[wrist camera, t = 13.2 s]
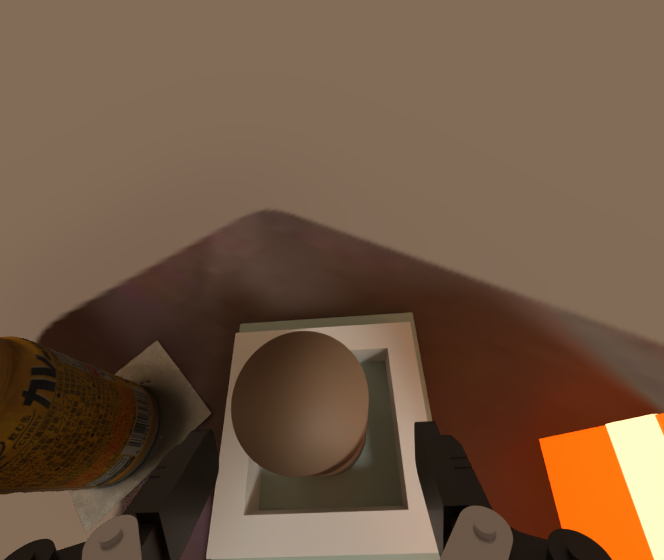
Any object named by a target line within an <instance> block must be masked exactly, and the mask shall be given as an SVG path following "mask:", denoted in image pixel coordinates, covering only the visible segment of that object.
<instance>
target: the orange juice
mask: <svg viewBox="0 0 664 560" xmlns="http://www.w3.org/2000/svg"><path fill="white" fill-rule="evenodd" d="M539 441H540V445H541V449H542V453H543V457H544V461H545V465H546V469H547V472H548V476H549V480H550V484H551V488H552V492H553V496H554V500H555V504H556V507H557V511H558V515H559V519H560V523H561V527H562V529H570V530H574V531H577V532H580V533H582V534H584V535H586V536H588V537H589V538H591V539H592V540H594V541H595V542H596V543H598V544H599V545H600V546H601V547H602V548H603V549H604V550H605V551H606V552H607V553H608V555H609V556H610V557H611V559H612V560H664V413H662V414H650V415H645V416H641V417H636V418H631V419H627V420H622V421H617V422H612V423H608V424H605V425H604V426H600V427H595V428H590V429H585V430H580V431H576V432H571V433H566V434H561V435H556V436H551V437H547V438H542V439H539Z"/></svg>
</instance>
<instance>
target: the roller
mask: <svg viewBox="0 0 664 560" xmlns="http://www.w3.org/2000/svg"><path fill="white" fill-rule="evenodd" d="M368 405H369V392H368V386H367V381H366V377H365V374H364V371H363V369H362V367H361V365H360V363H359V362H358V360H357V358H356V357H355V356H354V354H353V353H352V352H351V351H350V350H349V349H348V348H347V347H346V346H345V345H344V344H342V343H341V342H340V341H338V340H336V339H335V338H333V337H331V336H328V335H326V334H323V333H319V332H313V331H296V332H290V333H286V334H283V335H280V336H278V337H276V338H274V339H272V340H270V341H268V342H267V343H265V344H264V345H262V346H261V347H260V348H259V349H258V350H256V351H255V352H254V353H253V355H252V356H251V357H250V358H249V359H248V360H247V362H246V363H245V364H244V366H243V368H242V370H241V371H240V373H239V375H238V378H237V380H236V383H235V386H234V389H233V394H232V399H231V418H232V424H233V428H234V431H235V434H236V437H237V439H238V441H239V443H240V445H241V447H242V448H243V450H244V451H245V453H246V454H247V455H248V456H249V457H250V458H251V459H252V460H253V461H254V462H255V463H257V464H258V465H259V466H261V467H262V468H264V469H266V470H268V471H270V472H273V473H275V474H278V475H283V476H291V477H308V476H333V475H337V474H340V473H342V472H344V471H346V470H348V469H349V468H350V467H351V466H353V465H354V463H355V462H356V461H357V460H358V458H359V457H360V455H361V453H362V451H363V449H364V446H365V441H366V433H367V419H368Z"/></svg>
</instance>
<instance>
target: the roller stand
mask: <svg viewBox="0 0 664 560" xmlns="http://www.w3.org/2000/svg"><path fill="white" fill-rule="evenodd" d="M296 331H313V332H319V333H323V334H326V335H328V336H331V337H333V338H335V339H336V340H338V341H340V342H341V343H342V344H344V345H345V346H346V347H347V348H348V349H349V350H350V351H351V352H352V353H353V354H354V356H355V357H356V358H357V360H358V362H359V363H360V365H361V367H362V369H363V371H364V374H365V377H366V381H367V386H368V392H369V405H368V419H367V433H366V441H365V446H364V449H363V451H362V453H361V455H360V457H359V458H358V460H357V461H356V462H355V463H354V465H353V466H351V467H350V468H349V469H348V470H346V471H344V472H342V473H340V474H337V475H333V476H308V477H291V476H283V475H278V474H275V473H273V472H270V471H268V470H266V469H264V468H262V467H261V466H259V465H258V464H257V463H255V462H254V461H253V460H252V459H251V458H250V457H249V456H248V455H247V454H246V453H245V451H244V450H243V448H242V447H241V445H240V443H239V441H238V439H237V437H236V434H235V431H234V428H233V424H232V418H231V399H232V394H233V389H234V386H235V383H236V380H237V378H238V375H239V373H240V371H241V370H242V368H243V366H244V364H245V363H246V362H247V360H248V359H249V358H250V357H251V356H252V355H253V353H254V352H255V351H256V350H258V349H259V348H260V347H261V346H262V345H264V344H265V343H267V342H268V341H270V340H272V339H274V338H276V337H278V336H280V335H283V334H286V333H290V332H296ZM423 421H432V417H431V411H430V406H429V400H428V395H427V389H426V384H425V378H424V373H423V367H422V362H421V357H420V351H419V346H418V340H417V335H416V329H415V324H414V318H413V313H412V312H411V313H396V314H380V315H365V316H350V317H335V318H320V319H305V320H290V321H275V322H260V323H245V324H240V330H239V333H236V334H235V342H234V349H233V357H232V364H231V372H230V380H229V387H228V395H227V402H226V410H225V418H224V425H223V433H222V440H221V448H220V456H219V472H218V476H217V479H216V486H215V494H214V501H213V509H212V516H211V524H210V532H209V539H208V547H207V555H206V559H211V560H440V556H439V552H438V548H437V545H436V541H435V537H434V533H433V530H432V526H431V522H430V519H429V515H428V511H427V508H426V504H425V500H424V496H423V493H422V489H421V485H420V482H419V478H418V474H417V469H416V463H415V441H414V423H415V422H423Z"/></svg>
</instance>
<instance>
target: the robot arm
mask: <svg viewBox="0 0 664 560" xmlns="http://www.w3.org/2000/svg"><path fill="white" fill-rule="evenodd" d="M414 441H415V463H416V469H417V474H418V478H419V482H420V485H421V489H422V493H423V496H424V500H425V504H426V508H427V511H428V515H429V519H430V522H431V526H432V530H433V533H434V537H435V541H436V545H437V548H438V552H439V556H440V560H612V559H611V557H610V556H609V555H608V553H607V552H606V551H605V550H604V549H603V548H602V547H601V546H600V545H599V544H598V543H596V542H595V541H594V540H592V539H591V538H589V537H588V536H586V535H584V534H582V533H580V532H577V531H574V530H570V529H557V530H555V531H553V532H552V533H551V534H550V535H549V537H548V540H546V539H542V538H538V537H535V536H531V535H528V534H524V533H522V532H519V531H517V530H515V529H513V528H511V527H510V526H509V525H508V524H507V522H506V521H505V520H504V519H503V518H502V517H501V516H500V515H499V514H498V513H496V512H495V511H493V509H492V507H491V506H490V503H489V501H488V499H487V497H486V495H485V493H484V491H483V489H482V487H481V485H480V483H479V481H478V479H477V477H476V474H475V472H474V470H473V469H472V466H471V464H470V462H469V460H468V459H467V456H466V454H465V452H464V450H463V448H462V445H461V444H460V443H459V442H458V441H456V440H455V439H454V438H453V437H452V436H451V435H440V433H439V430H438V428H437V426H436V423H435V422H434V421H423V422H415V423H414ZM218 472H219V459H218V454H217V448H216V443H215V438H214V433H213V431H212V430H192V431H191V432H190V433H189V434H188V436H187V437H186V439H185V440H184V442H183V443H182V445H176V446H175V447H174V448H173V449H171V450H170V451H169V452H168V453H167V454H165V455H164V457H163V458H162V460H161V461H160V462H159V464H158V465H157V467H156V469H154V471H153V472H152V474H151V475H150V476H149V479H147V481H146V482H145V483H144V485H143V486H142V488H141V489H140V490H139V492H138V493H137V495H136V496H135V497H134V499H133V500H132V502H131V503H130V504H129V506H128V507H127V509H126V510H125V511H124V513H123V514H122V515H121V516H118V517H115V518H113V519H110V520H109V521H107V522H105V523H104V524H102V525H101V526H100V527H99V528H97V529H96V530H95V531H94V532H93V533H92V534H91V535H90V537H89V538H88V539H87V541H86V542H83V543H80V544H77V545H74V546H71V547H67V548H64V549H61V550H58V551H56V548H55V545H54V543H53V541H51V540H49V539H40V540H36V541H33V542H31V543H28V544H26V545H24V546H23V547H21V548H19V549H18V550H16V551H15V552H13V553H12V554H10V555H9V556H8V557H7V558H6V559H4V560H179V559H180V557H181V555H182V553H183V551H184V549H185V547H186V544H187V542H188V540H189V538H190V536H191V534H192V531H193V529H194V527H195V525H196V523H197V521H198V518H199V516H200V514H201V512H202V510H203V508H204V505H205V503H206V501H207V499H208V497H209V495H210V492H211V490H212V488H213V486H214V484H215V482H216V479H217V476H218Z"/></svg>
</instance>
